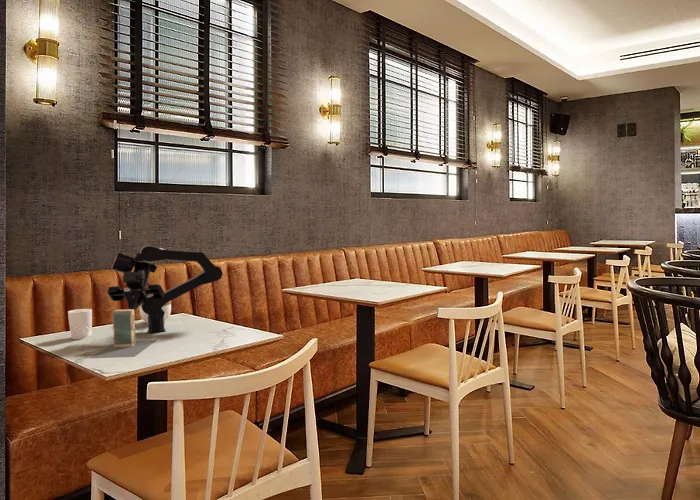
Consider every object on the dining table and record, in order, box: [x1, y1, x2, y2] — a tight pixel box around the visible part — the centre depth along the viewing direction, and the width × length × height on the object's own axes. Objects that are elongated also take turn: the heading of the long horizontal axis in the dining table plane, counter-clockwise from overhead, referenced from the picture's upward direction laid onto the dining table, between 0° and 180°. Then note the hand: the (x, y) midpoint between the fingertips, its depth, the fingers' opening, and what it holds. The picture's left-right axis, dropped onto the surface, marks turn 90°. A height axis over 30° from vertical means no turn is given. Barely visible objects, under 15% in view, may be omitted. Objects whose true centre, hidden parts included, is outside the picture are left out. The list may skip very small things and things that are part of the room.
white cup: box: [67, 308, 93, 340], centre depth 199 cm, size 8×8×10 cm
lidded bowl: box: [138, 300, 172, 325], centre depth 222 cm, size 13×13×11 cm
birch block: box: [111, 308, 137, 347], centre depth 181 cm, size 3×6×12 cm, turn 92°
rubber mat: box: [89, 339, 158, 359], centre depth 178 cm, size 22×14×1 cm, turn 2°
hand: (130, 312), depth 189 cm, fingers closed
